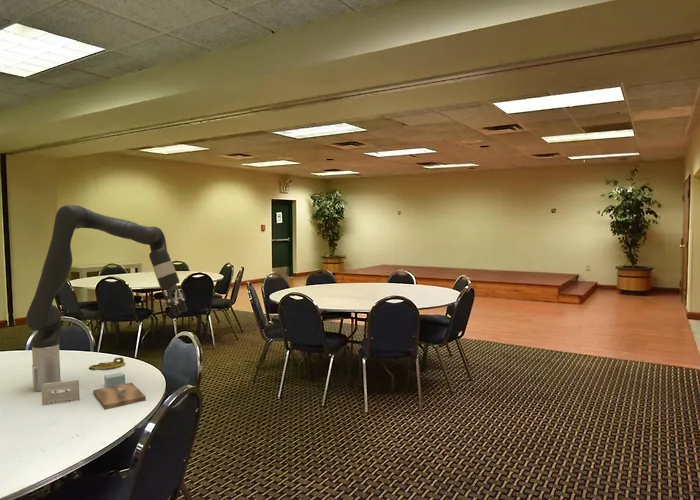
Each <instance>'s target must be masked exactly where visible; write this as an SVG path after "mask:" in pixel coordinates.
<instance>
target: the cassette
mask: <svg viewBox="0 0 700 500" xmlns="http://www.w3.org/2000/svg"><path fill="white" fill-rule="evenodd" d="M62 390H63V392H57V391H62ZM40 392H41V405H42V406H45V405H55V404H56V405H57V404H63V403H64V402H65V403H71V401H72V402H76V401H75V400H77V401H80V399H81V398H80V396H81V395H80V380H79V379H71V380H65V381H61V382H54V383H46V384H42V385H41V391H40Z"/></svg>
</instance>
